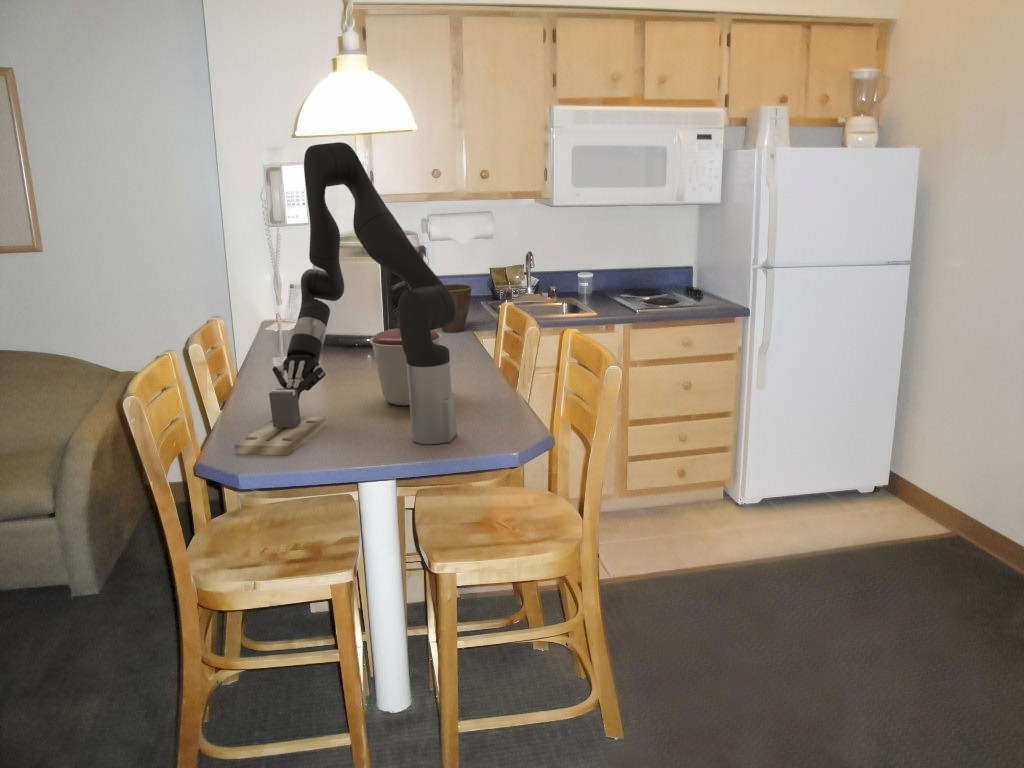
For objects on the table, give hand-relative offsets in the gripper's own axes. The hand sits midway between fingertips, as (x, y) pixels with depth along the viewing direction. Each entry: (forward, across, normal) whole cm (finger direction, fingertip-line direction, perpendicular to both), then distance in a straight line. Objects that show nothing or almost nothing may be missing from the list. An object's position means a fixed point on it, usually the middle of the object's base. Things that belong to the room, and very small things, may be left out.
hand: (290, 404), depth 177 cm
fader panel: (+8, 0, +1) cm, 8 cm away
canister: (-14, +20, +23) cm, 34 cm away
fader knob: (+5, 0, +1) cm, 5 cm away
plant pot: (-76, +8, +85) cm, 114 cm away
